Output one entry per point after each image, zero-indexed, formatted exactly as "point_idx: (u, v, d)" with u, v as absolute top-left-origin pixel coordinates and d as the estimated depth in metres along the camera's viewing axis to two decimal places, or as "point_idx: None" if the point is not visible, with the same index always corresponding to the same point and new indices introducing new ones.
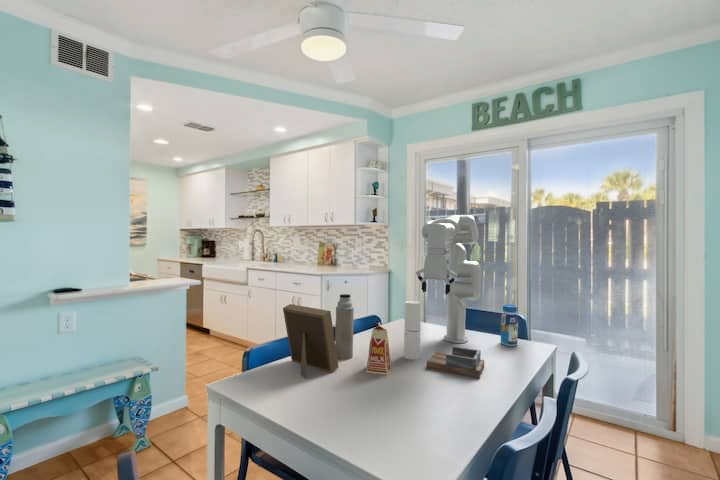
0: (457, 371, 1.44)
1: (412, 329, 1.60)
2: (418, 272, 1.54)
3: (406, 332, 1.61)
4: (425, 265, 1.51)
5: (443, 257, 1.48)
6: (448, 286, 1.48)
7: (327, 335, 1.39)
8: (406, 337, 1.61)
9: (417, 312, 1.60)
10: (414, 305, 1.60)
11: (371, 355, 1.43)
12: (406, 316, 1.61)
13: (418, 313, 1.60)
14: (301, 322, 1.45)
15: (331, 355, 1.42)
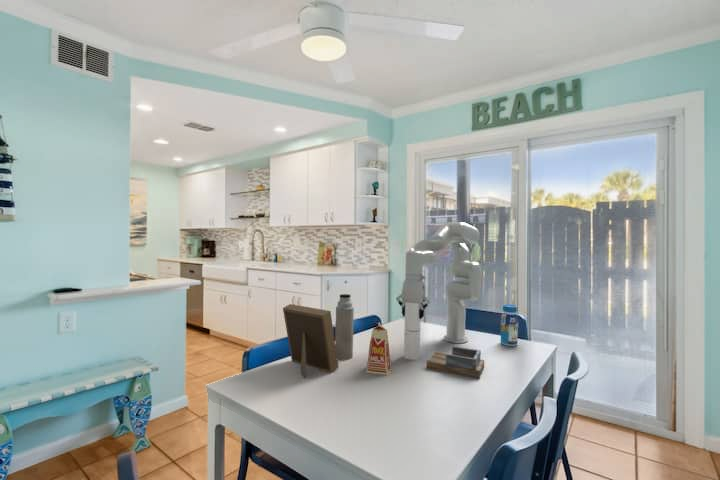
0: (457, 371, 1.44)
1: (412, 329, 1.60)
2: (398, 298, 1.66)
3: (406, 332, 1.61)
4: (403, 290, 1.63)
5: (419, 283, 1.60)
6: (422, 311, 1.60)
7: (327, 335, 1.39)
8: (406, 337, 1.61)
9: (417, 312, 1.60)
10: (414, 305, 1.60)
11: (371, 355, 1.43)
12: (406, 316, 1.61)
13: (418, 313, 1.60)
14: (301, 322, 1.45)
15: (331, 355, 1.42)
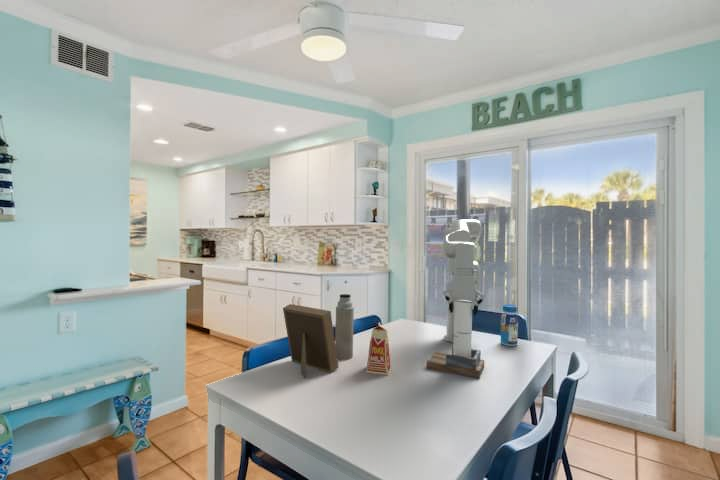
0: (457, 371, 1.44)
1: (463, 331, 1.46)
2: (445, 292, 1.52)
3: (456, 334, 1.48)
4: (452, 285, 1.49)
5: (471, 277, 1.46)
6: (476, 307, 1.46)
7: (327, 335, 1.39)
8: (456, 340, 1.48)
9: (469, 312, 1.46)
10: (466, 305, 1.46)
11: (371, 355, 1.43)
12: (456, 317, 1.48)
13: (470, 313, 1.47)
14: (301, 322, 1.45)
15: (331, 355, 1.42)
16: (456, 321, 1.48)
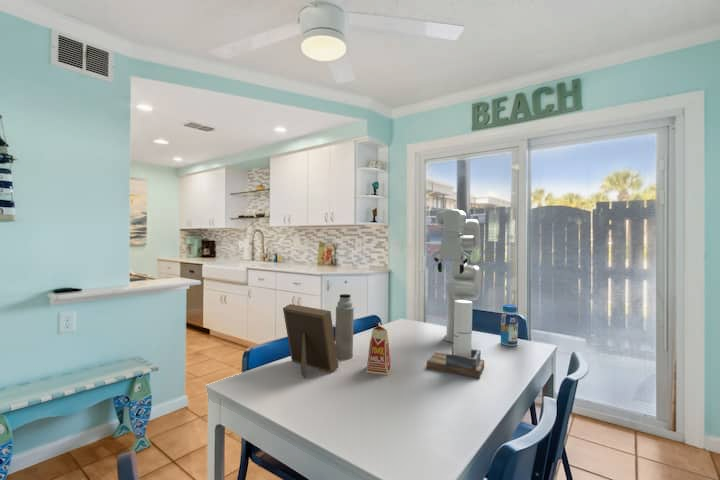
0: (457, 371, 1.44)
1: (464, 331, 1.46)
2: (434, 254, 1.70)
3: (456, 334, 1.48)
4: (441, 247, 1.67)
5: (457, 240, 1.64)
6: (462, 266, 1.64)
7: (327, 335, 1.39)
8: (456, 340, 1.48)
9: (469, 312, 1.46)
10: (466, 305, 1.46)
11: (371, 355, 1.43)
12: (456, 317, 1.48)
13: (470, 313, 1.47)
14: (301, 322, 1.45)
15: (331, 355, 1.42)
16: (456, 321, 1.48)
